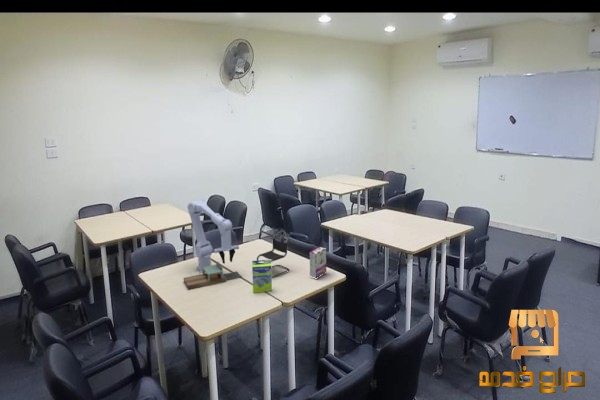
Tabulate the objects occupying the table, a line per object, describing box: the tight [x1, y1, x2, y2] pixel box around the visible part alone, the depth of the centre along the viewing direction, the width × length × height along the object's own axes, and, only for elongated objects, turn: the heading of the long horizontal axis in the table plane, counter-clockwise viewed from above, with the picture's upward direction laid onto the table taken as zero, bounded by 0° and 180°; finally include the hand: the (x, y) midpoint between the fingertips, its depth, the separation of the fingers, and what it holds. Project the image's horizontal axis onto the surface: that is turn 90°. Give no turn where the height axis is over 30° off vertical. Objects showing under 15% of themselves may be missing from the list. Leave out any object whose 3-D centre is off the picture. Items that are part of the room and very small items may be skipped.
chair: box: [256, 232, 291, 278], centre depth 239 cm, size 13×17×22 cm
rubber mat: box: [223, 270, 242, 281], centre depth 236 cm, size 9×9×1 cm
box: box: [251, 259, 273, 293], centre depth 215 cm, size 10×4×17 cm, turn 100°
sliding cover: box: [202, 261, 224, 281], centre depth 230 cm, size 12×9×6 cm
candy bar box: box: [309, 246, 327, 278], centre depth 234 cm, size 11×5×16 cm, turn 143°
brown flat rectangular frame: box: [183, 272, 227, 291], centre depth 228 cm, size 12×22×2 cm, turn 118°
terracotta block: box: [210, 274, 218, 280], centre depth 230 cm, size 4×4×6 cm
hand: (227, 262), depth 233 cm, fingers open, 4 cm apart
